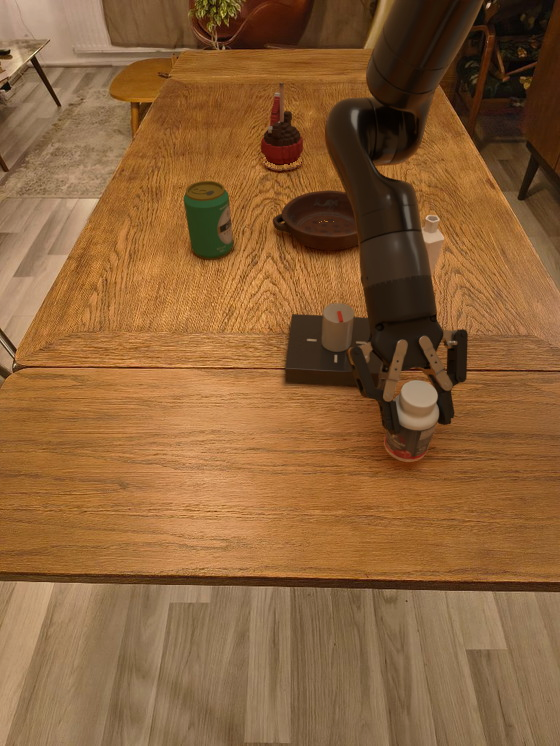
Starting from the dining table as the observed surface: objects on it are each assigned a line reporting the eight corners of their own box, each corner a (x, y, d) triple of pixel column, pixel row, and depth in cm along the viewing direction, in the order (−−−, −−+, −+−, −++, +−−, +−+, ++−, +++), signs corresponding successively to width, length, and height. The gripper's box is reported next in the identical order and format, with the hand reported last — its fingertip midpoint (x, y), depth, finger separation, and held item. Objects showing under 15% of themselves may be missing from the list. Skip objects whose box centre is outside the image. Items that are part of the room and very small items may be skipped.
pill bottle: (374, 444, 63) (384, 392, 56) (401, 420, 66) (414, 367, 59) (409, 471, 61) (425, 419, 54) (436, 445, 63) (454, 393, 56)
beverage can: (222, 264, 95) (216, 203, 87) (184, 256, 97) (174, 196, 89) (240, 242, 100) (235, 183, 92) (203, 235, 102) (195, 176, 94)
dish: (278, 209, 109) (278, 187, 105) (384, 214, 107) (387, 191, 103) (267, 255, 97) (266, 231, 93) (385, 261, 95) (389, 237, 91)
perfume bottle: (397, 292, 88) (412, 211, 78) (422, 290, 89) (440, 209, 78) (405, 308, 85) (421, 227, 74) (430, 306, 85) (450, 225, 75)
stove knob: (319, 332, 77) (320, 301, 73) (348, 330, 77) (351, 300, 73) (323, 353, 74) (325, 322, 70) (353, 351, 74) (357, 319, 70)
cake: (294, 176, 120) (294, 92, 107) (256, 171, 122) (252, 88, 109) (307, 158, 127) (309, 77, 114) (271, 153, 129) (269, 73, 116)
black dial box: (380, 332, 81) (382, 317, 79) (383, 388, 73) (386, 373, 71) (291, 328, 82) (291, 312, 80) (285, 383, 74) (285, 367, 72)
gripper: (343, 283, 53) (369, 445, 53) (473, 264, 55) (497, 420, 55) (326, 294, 60) (349, 436, 61) (440, 276, 62) (462, 414, 63)
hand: (419, 428), depth 58 cm, fingers closed on pill bottle, 5 cm apart
